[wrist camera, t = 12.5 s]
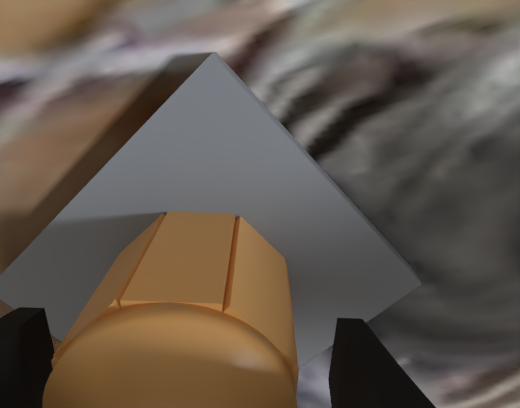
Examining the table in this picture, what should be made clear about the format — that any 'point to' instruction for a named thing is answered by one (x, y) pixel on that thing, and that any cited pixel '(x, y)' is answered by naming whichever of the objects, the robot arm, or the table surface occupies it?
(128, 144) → the stud block
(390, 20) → the table surface
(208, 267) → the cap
